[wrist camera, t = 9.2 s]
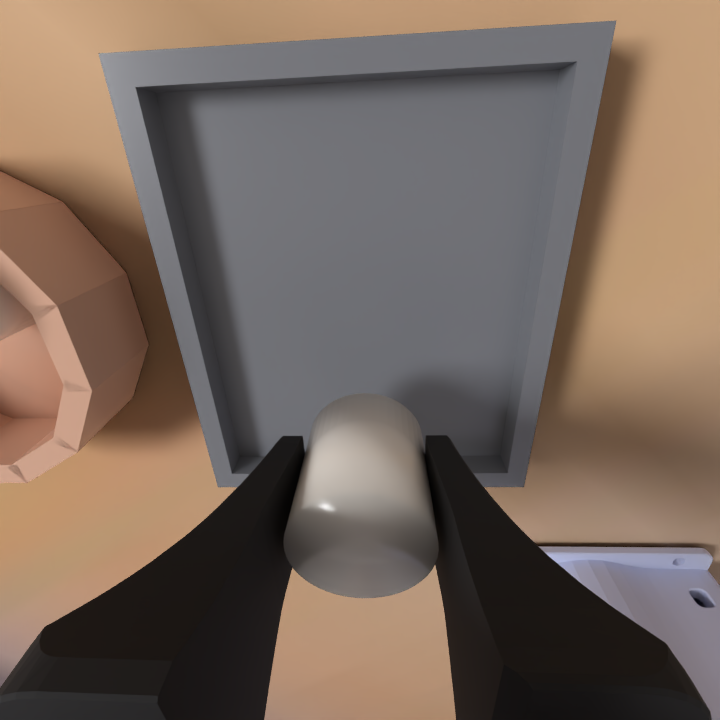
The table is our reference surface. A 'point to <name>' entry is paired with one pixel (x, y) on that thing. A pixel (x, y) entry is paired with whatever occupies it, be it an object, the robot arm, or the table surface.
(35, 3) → the table surface
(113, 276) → the bowl
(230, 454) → the parts tray
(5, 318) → the white egg
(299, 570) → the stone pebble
